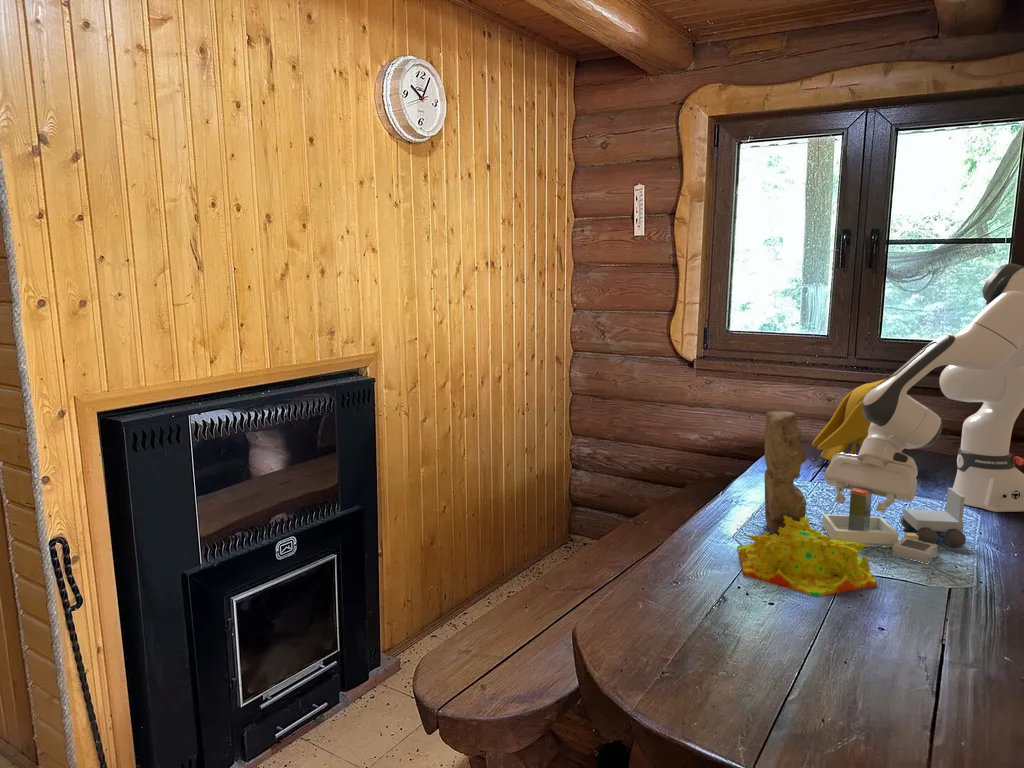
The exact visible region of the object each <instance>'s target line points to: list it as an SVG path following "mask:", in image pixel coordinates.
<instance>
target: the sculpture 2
mask: <svg viewBox="0 0 1024 768" xmlns="http://www.w3.org/2000/svg"><path fill="white" fill-rule="evenodd" d="M886 379H887V378H885V379H881V380H877V381H873V382H870V383H869V382H868V383H864V384H862V385H860V386H857V387H855V388H854V389H853V390H851V391H850V392H849V393H848V394H846V395H845V396H844V397H843V399H842V401H841V402H840V403H839V404H838V406H837V408H836V410H835V412H834V413H833V416H832V417H831V419H830V420H829V421H828V422H827V424H826V425H825V426H824V427H823V429H822V430H821V431H820V432H819V434H818V435H817V436H816V437H815V438H814V440H813V441H812V443H811V446H812V447H816V449H817V450H819V451H822V450H823V451H822V452H821V453H820V456H821V458H823V459H825V460H828V461H831V459H832V457H833V456H834V455H836V454H840V453H845V451H846V449H847V447H848V446H849V445H850V444H851V443H852V446H851V451H850V453H849V454H853V455H857V453H856V450H857V443H858V445H859V449H861V446H862V444H863V441H864V440H865V439H866V438H867V436H868V429H869V426H870V424H871V422H870V421H868V420H867V419H865V417H864V414H863V410H862V400H863V398H864V397H865V395H866V394H867V393H868V392H869V391H870V390H871V389H872V388H874V387H875V386H877V385H878V384H880V383H881V382H883V381H884V380H886ZM838 456H840V455H838Z"/></svg>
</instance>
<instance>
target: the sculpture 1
mask: <svg viewBox="0 0 1024 768" xmlns="http://www.w3.org/2000/svg"><path fill="white" fill-rule="evenodd" d="M798 420H799V418H798V416H797V414H796V413H794V412H791V411H788V410H787V411H786V410H772V411H767V412H766V413H765V430H764V461H765V466H766V470H765V471H764V506H765V510H764V516H765V523H766V526H767V527H768V529H769V531H770V532H771V533H772V534H777V535H778V536H779V534H780V533H779V532H778V531H777V530H779V528H778V527H782V528H784V527H785V526H786V524H785V523H783V522H784V521H785V519H784V517H783V516H784V515H785V516H786V515H787V517H792V519H793V520H794V521H800V518H804V517H806V513H807V501H806V498H805V496H804V495H803V491H802V490H801V489H800V488H799V487H798V486H796V485H794V480H795V479H796V480H797V479H799V478H800V477H801V472H800V471H801V469H802V464H803V463H804V462H806V461H807V452H806V450H805V449H804V448H803V446H802V444H801V441H802V440H803V434H802V433H803V432H802V429H801V427H800V426H799V424H798Z"/></svg>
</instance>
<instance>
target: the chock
mask: <svg viewBox="0 0 1024 768" xmlns="http://www.w3.org/2000/svg"><path fill="white" fill-rule="evenodd" d="M916 533H917V532H904V533H903V534H904V535H903V537H906V538H911V539H915V540H919V536H918V535H917V534H916Z"/></svg>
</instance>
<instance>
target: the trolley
mask: <svg viewBox="0 0 1024 768" xmlns="http://www.w3.org/2000/svg"><path fill="white" fill-rule="evenodd" d="M946 491H947V492H946V493H947V495H946V505H945V510H940V509H939V510H935V509H915V508H914V509H912V508H903V509H904V512H903V515H902V516H901V518H900V524H901V526H902V527H903V528H904V529H905V530H906V531H909V530H915V531H916V532H915V533H916V534H917V535H918V536H919V541H923V542H927V543H931V544H935V545H936V543H937V541H938V533H942V532H945V533H944V535H943V539H944V541H945V543H946V544H947V545H948V546H950V547H952V548H954V547H958V548H961V547H963V546H964V545H965V543H966V541H967V540H966V539H967V538H966V537H967V536H966V535H965V534H964V524H965V522H964V521H963V518H964V509H965V508H964V507H965V504H964V499H965V497H964V496H963V495H961V494H960V493H958V492H957V491H955V490H954V489H953V487H947V490H946Z"/></svg>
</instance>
